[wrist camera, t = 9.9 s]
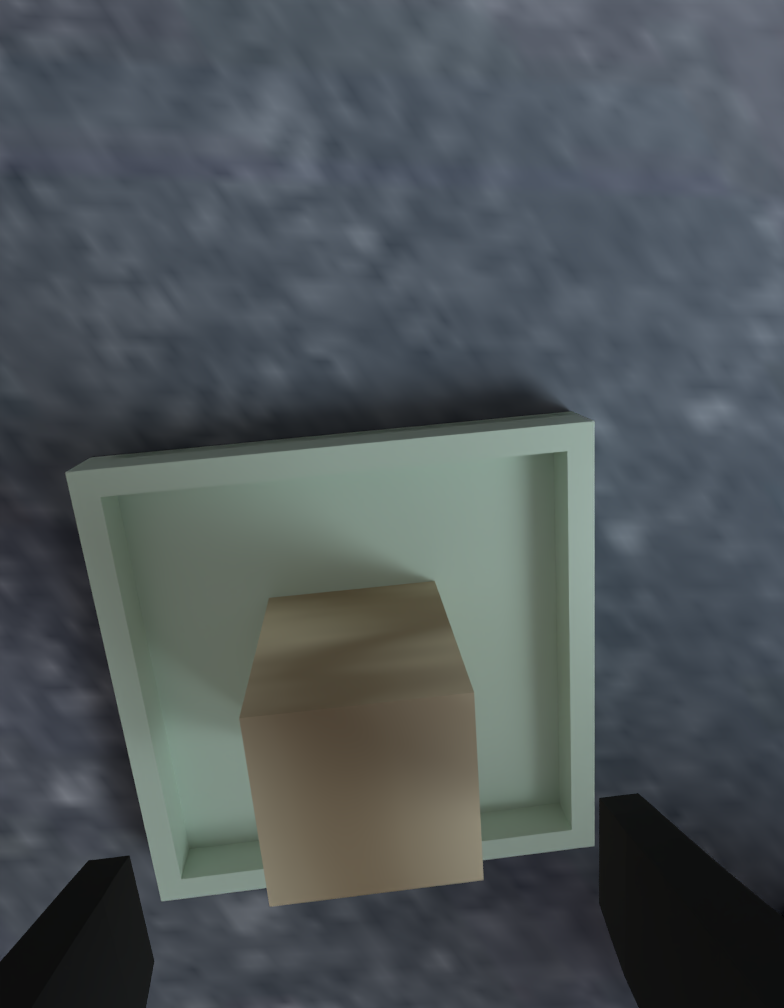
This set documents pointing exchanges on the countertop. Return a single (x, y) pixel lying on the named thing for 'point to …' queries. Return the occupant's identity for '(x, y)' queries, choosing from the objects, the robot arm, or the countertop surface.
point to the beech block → (361, 745)
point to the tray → (344, 566)
